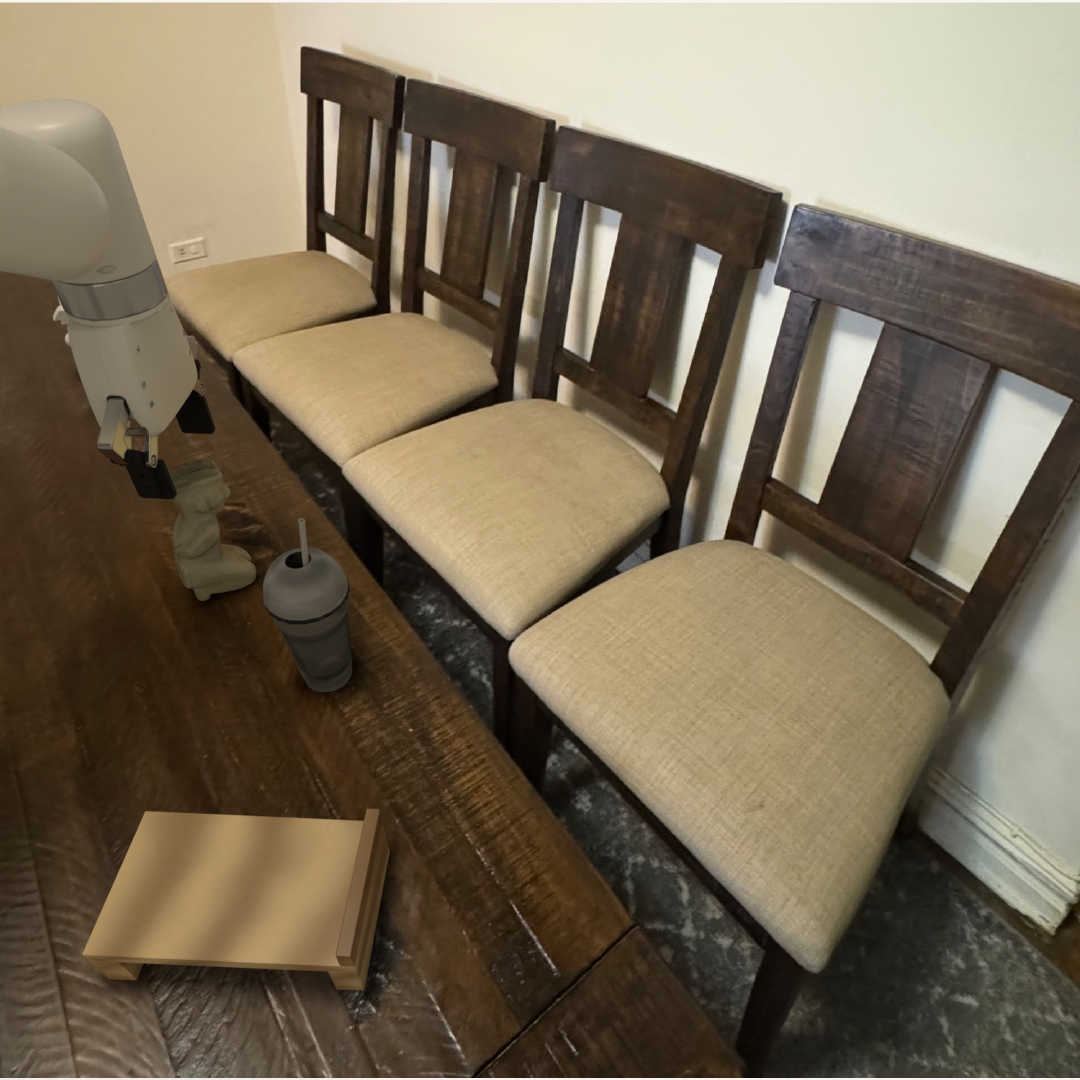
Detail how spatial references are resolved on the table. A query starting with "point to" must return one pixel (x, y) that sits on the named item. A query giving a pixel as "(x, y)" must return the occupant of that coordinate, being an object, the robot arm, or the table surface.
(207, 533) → the sculpture
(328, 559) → the beverage cup
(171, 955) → the shelf
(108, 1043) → the table surface
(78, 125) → the robot arm
